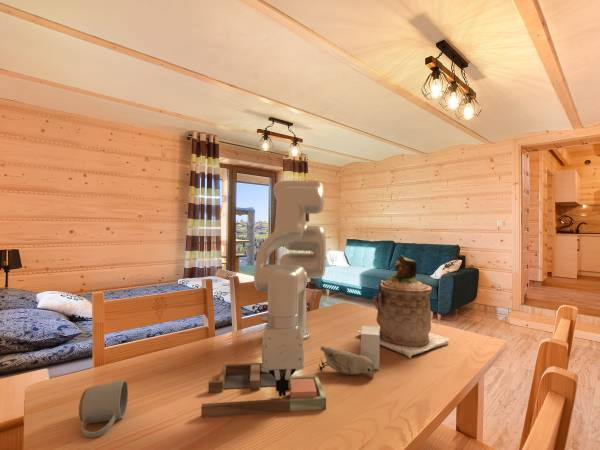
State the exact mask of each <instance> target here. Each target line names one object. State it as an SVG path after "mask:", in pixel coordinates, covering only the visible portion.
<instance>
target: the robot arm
mask: <svg viewBox="0 0 600 450" xmlns="http://www.w3.org/2000/svg"><path fill="white" fill-rule="evenodd" d="M273 185H274V186H273V194H274V198H275V201H276V207H275V208H276V209H275V220H274V222H275V223H274V231H273V232H271V234H269V235H268V236H267V237H266V238H265V239H264V241H263V242H262V244H260V247H259V248H258V250H257V254H256V258H255V266H254V276H253V285H254V286H255V288H256V290H257V291H258V292H261V293H267V314H265V315H262V316H261V322H264V323H265V325H264V329H263V334H262V343H261V344H262V345H261V363H262V364H261V371H262V372H269V373H270V374H271V375H272V376H274V377H275V379H276V386H275V391H276V392H278V396H279V397H282V396H283V397H286V396H287V394H286V393H287V391H289V388H288V380H289V379H290V377H292V376H293V374H294V373H296V372H298V371H301V370H304V368H305V367H304V366H305V365H304V361H305V359H304V356H305V354H304V340H305V339H308V338H309V337H310V336H311V331H310V330H309V329H308V328H307V327H306V326H307V289H306V288H307V285H308V279H321V278H323V277H324V276H325V272H326V248H327V247H326V246H327V245H326V244H327V243H326V232H325V229H324V228H323V227H322V226H319V225H307V224H306V220H307V219H306V214H309V215H310V214H312V215H313V214H314V215H315V214H316V215H317V214H320V213H322V212H323V210H324V207H325V206H324V205H325V189H324V185H323V183H322V182H321V181H320V180H281V181H278V182H276V183H275V184H273ZM281 247H284V248H285V249H286V250H288V251H298V252H288V253H285V254H283V255H282V256H281V257H280V259H279V264H267V262H268V258H269V257H270V255H271V254H272V253H273V252H274V251H276V250H277V249H279V248H281ZM299 251H300V252H299ZM301 251H302V252H301ZM304 252H305V253H304ZM306 252H307V253H306ZM309 252H310V253H309ZM279 370H284V372H283V375H281V373H280V372H279Z"/></svg>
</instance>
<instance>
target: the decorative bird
mask: <svg viewBox="0 0 600 450" xmlns="http://www.w3.org/2000/svg"><path fill="white" fill-rule="evenodd" d="M319 346H320V347H319V349H320V351H322V352H324V353H323V354H324V357H325V362H323V360H322V359H320V362H321V363H318V366H319V367H318V368H319V370H320V372H323V369H325V367H328V366H329V367H330V368H331V369H333V370H335V371H337V372H340V373H343V374H345V375H358V374H361V373H363V374H366V375H367V376H368V377H370V378H371V379H374V376H375V375H374V374H375V369H374V364H373V362H372V361H371V360H370V359H369V358H368V357H366V356H362V355H361V354H356V353H352V352H350V351H347V350H340V349H335V348H332V347H330V346H326V345H321V344H320V345H319ZM321 365H322V366H321Z"/></svg>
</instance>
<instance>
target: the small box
mask: <svg viewBox="0 0 600 450" xmlns="http://www.w3.org/2000/svg"><path fill="white" fill-rule="evenodd" d="M360 330H361V334H360V355H362V356H366V357H368V358H369V359H370V360H371V361H372V362H373V364H374V370H378V371H379V370H380V346H381V345H380V334H379V328H378V327H377V326H372V325H360Z"/></svg>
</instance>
